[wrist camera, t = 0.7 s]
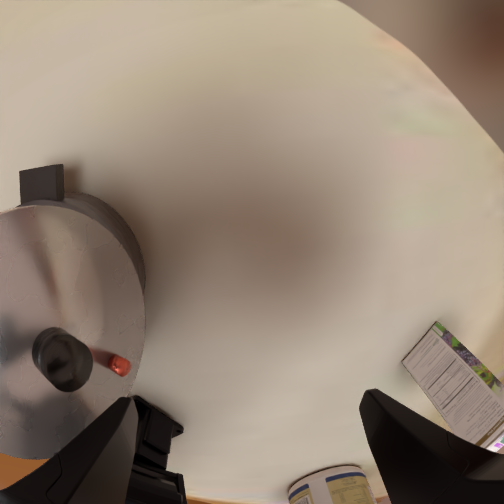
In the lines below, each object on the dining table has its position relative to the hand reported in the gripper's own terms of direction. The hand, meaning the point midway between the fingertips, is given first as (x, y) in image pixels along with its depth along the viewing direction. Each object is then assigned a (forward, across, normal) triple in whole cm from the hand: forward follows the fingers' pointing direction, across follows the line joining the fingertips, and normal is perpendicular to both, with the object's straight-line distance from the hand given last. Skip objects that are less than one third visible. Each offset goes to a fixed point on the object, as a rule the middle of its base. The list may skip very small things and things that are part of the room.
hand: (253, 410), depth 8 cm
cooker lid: (+3, +9, 0) cm, 10 cm away
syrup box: (+13, -21, +9) cm, 26 cm away
